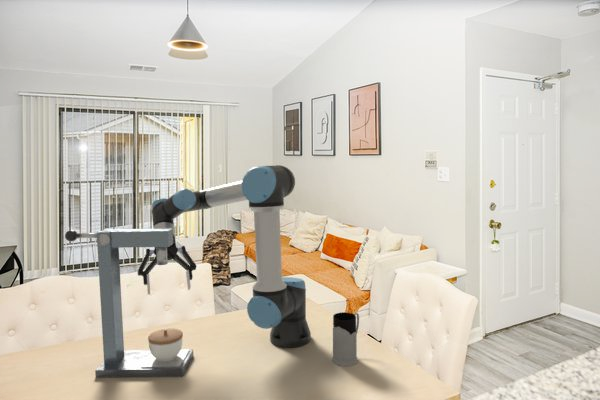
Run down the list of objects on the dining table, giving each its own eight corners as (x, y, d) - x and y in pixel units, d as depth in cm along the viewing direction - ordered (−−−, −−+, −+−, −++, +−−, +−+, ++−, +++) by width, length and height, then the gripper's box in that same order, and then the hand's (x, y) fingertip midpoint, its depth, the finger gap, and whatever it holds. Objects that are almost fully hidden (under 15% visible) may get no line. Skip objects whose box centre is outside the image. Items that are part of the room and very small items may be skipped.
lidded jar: (173, 366, 135) (172, 337, 134) (142, 363, 137) (141, 335, 136) (189, 351, 145) (188, 324, 144) (160, 349, 148) (158, 322, 147)
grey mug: (326, 361, 143) (326, 317, 142) (347, 346, 155) (347, 305, 153) (350, 368, 138) (350, 323, 137) (369, 352, 150) (369, 310, 148)
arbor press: (193, 356, 148) (188, 225, 144) (182, 376, 134) (176, 232, 130) (84, 357, 148) (76, 226, 144) (62, 377, 134) (52, 234, 130)
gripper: (197, 239, 170) (204, 290, 160) (129, 244, 161) (131, 298, 150) (199, 230, 164) (206, 282, 154) (128, 234, 155) (131, 291, 144)
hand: (169, 290), depth 152 cm, fingers open, 13 cm apart
